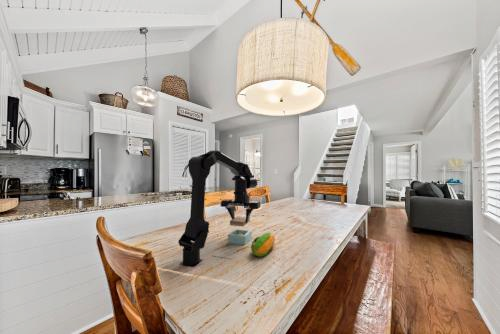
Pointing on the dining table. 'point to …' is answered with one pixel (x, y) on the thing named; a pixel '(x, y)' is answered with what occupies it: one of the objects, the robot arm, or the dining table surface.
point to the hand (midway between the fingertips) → (240, 221)
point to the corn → (262, 244)
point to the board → (239, 221)
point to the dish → (239, 236)
